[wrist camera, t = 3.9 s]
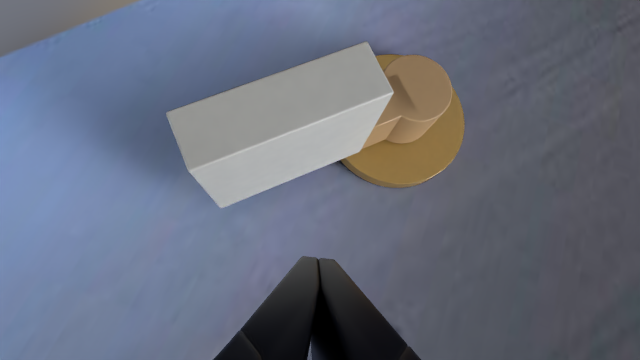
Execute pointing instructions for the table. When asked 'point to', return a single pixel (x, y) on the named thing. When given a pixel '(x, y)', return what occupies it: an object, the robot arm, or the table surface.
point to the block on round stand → (306, 119)
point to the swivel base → (411, 149)
